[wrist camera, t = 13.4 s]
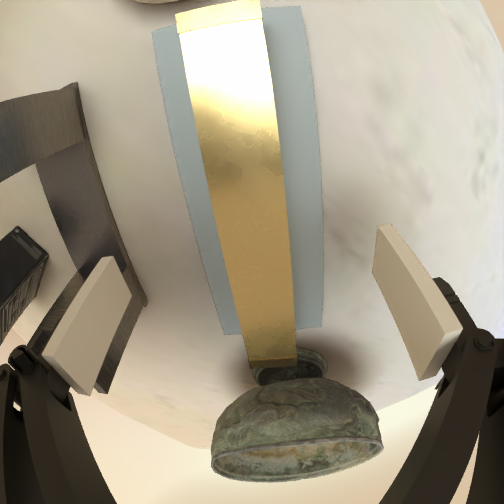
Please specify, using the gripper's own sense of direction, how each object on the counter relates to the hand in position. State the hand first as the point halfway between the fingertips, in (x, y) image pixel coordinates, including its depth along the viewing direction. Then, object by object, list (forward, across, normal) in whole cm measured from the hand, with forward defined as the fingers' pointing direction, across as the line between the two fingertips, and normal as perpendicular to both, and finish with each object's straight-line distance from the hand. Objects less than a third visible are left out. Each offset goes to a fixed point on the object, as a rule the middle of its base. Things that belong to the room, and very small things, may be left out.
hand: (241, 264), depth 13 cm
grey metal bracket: (+11, -16, 0) cm, 20 cm away
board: (+11, 0, 0) cm, 11 cm away
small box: (+12, -30, -4) cm, 33 cm away
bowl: (+11, +2, -26) cm, 28 cm away
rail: (+8, 0, 0) cm, 8 cm away
